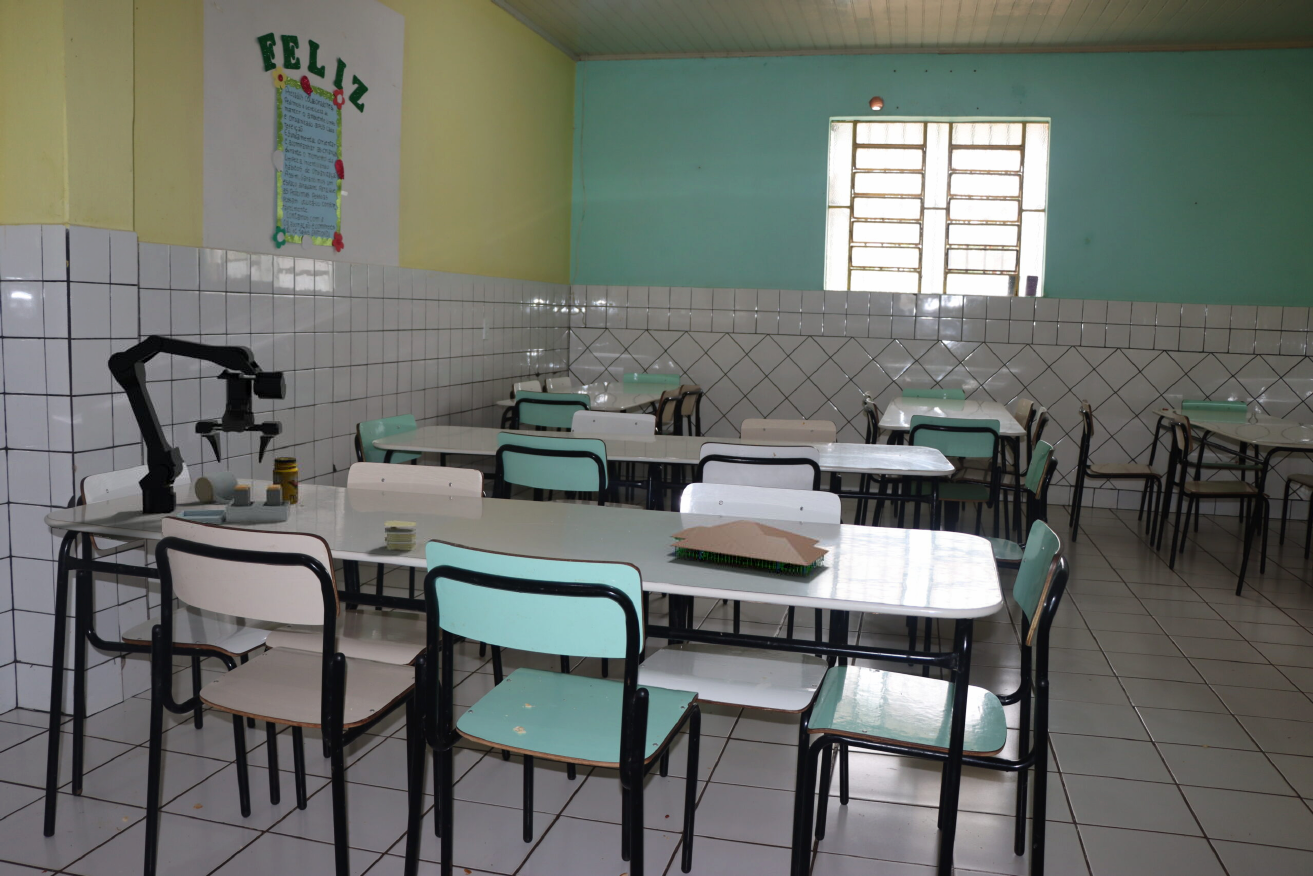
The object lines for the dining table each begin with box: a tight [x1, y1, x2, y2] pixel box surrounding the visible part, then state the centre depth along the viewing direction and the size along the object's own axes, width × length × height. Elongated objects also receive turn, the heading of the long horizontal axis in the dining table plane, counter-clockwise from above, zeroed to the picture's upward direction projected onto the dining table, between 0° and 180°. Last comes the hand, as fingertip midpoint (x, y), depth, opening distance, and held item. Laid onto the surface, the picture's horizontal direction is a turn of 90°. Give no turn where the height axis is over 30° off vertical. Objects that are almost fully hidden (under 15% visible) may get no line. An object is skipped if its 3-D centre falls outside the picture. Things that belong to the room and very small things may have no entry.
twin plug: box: [265, 484, 282, 506], centre depth 232 cm, size 3×4×7 cm
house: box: [669, 519, 830, 574], centre depth 212 cm, size 23×33×8 cm
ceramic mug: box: [194, 470, 239, 505], centre depth 250 cm, size 11×8×8 cm
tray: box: [176, 509, 226, 525], centre depth 228 cm, size 10×10×2 cm
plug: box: [233, 484, 252, 506], centre depth 230 cm, size 3×4×7 cm
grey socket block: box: [225, 500, 291, 523], centre depth 231 cm, size 13×7×4 cm, turn 104°
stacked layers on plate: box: [384, 520, 418, 550], centre depth 210 cm, size 10×9×6 cm
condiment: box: [272, 456, 305, 507], centre depth 250 cm, size 7×8×12 cm
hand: (239, 462), depth 237 cm, fingers open, 9 cm apart
